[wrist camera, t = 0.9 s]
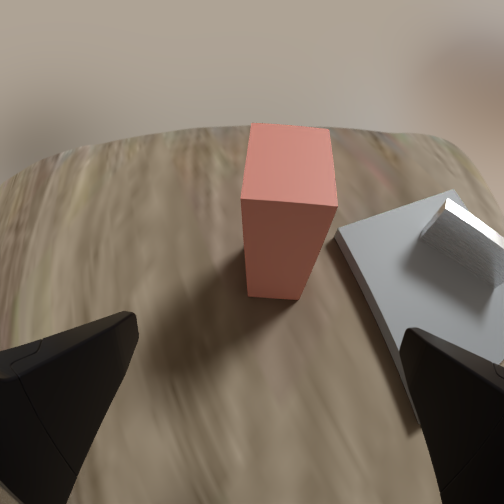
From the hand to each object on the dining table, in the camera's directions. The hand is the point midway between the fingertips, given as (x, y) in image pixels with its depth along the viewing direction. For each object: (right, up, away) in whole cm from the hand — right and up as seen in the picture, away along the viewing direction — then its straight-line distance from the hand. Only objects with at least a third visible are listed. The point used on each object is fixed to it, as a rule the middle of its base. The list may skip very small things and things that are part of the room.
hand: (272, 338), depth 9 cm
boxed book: (+1, +1, +15) cm, 15 cm away
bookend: (+19, +2, +14) cm, 23 cm away
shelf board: (+17, -1, +14) cm, 22 cm away
